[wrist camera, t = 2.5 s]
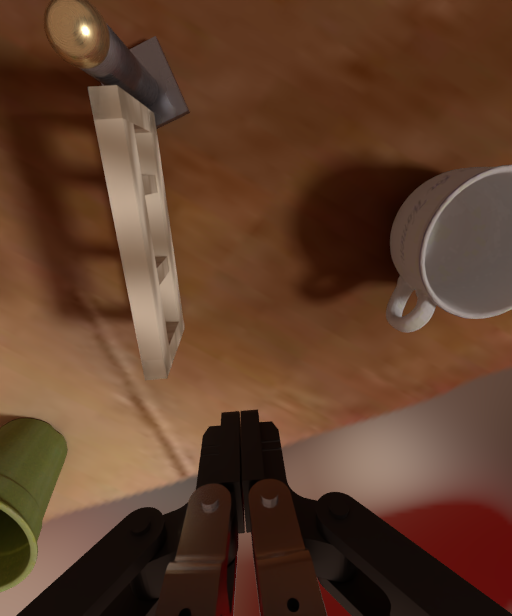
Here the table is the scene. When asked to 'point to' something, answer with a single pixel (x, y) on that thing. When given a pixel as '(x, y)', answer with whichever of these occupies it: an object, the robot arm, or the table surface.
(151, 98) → the hinge post
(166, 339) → the gate
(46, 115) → the table surface
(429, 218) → the teacup
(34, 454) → the plant pot
